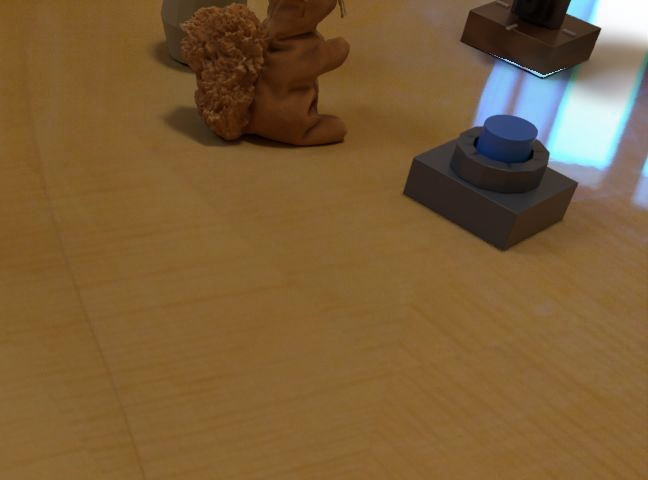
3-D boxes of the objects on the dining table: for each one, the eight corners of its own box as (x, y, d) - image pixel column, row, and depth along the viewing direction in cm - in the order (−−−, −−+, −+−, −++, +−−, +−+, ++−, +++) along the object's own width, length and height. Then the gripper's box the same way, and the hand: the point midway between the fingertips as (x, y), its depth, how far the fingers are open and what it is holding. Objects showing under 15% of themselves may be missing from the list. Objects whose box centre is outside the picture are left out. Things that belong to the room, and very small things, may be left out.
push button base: (562, 219, 80) (588, 160, 76) (502, 251, 76) (526, 192, 73) (463, 165, 85) (483, 107, 81) (402, 193, 81) (419, 135, 77)
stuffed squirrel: (354, 142, 86) (394, -21, 76) (204, 163, 83) (226, -6, 73) (302, 90, 92) (334, -69, 82) (161, 107, 89) (175, -56, 79)
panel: (592, 57, 100) (606, 25, 98) (538, 80, 96) (551, 47, 94) (510, 21, 105) (521, -11, 102) (456, 42, 101) (466, 9, 98)
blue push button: (538, 156, 77) (548, 130, 75) (507, 171, 75) (517, 145, 74) (496, 134, 79) (505, 109, 77) (465, 149, 77) (473, 123, 76)
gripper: (604, -190, 79) (519, 49, 93) (708, -214, 86) (614, 11, 100) (525, -213, 82) (455, 20, 96) (631, -235, 89) (551, -15, 103)
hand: (537, 14), depth 98 cm, fingers closed
